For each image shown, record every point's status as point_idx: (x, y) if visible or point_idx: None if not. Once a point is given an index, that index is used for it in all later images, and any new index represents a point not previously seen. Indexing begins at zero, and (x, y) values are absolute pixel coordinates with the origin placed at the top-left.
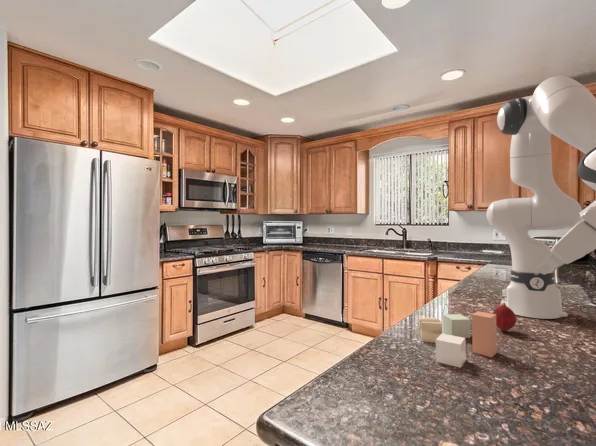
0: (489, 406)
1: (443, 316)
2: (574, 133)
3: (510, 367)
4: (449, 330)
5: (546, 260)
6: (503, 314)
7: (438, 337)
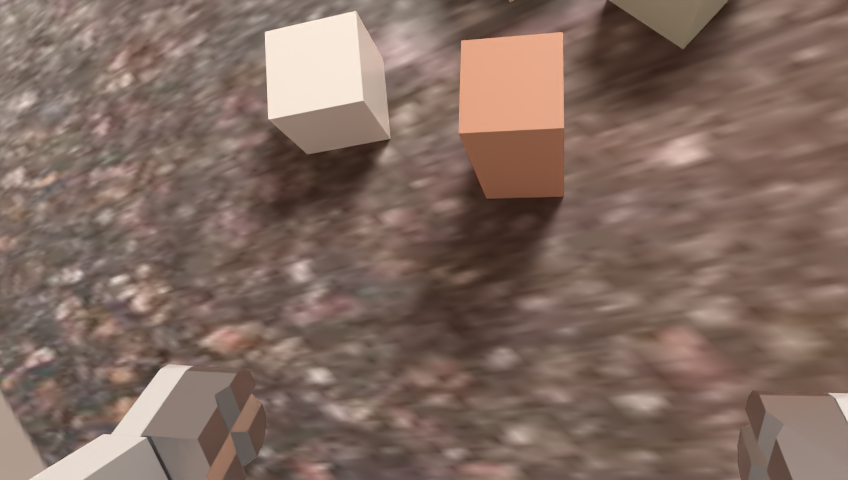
0: (109, 302)
1: None
2: None
3: (430, 279)
4: None
5: (46, 471)
6: None
7: (296, 26)
